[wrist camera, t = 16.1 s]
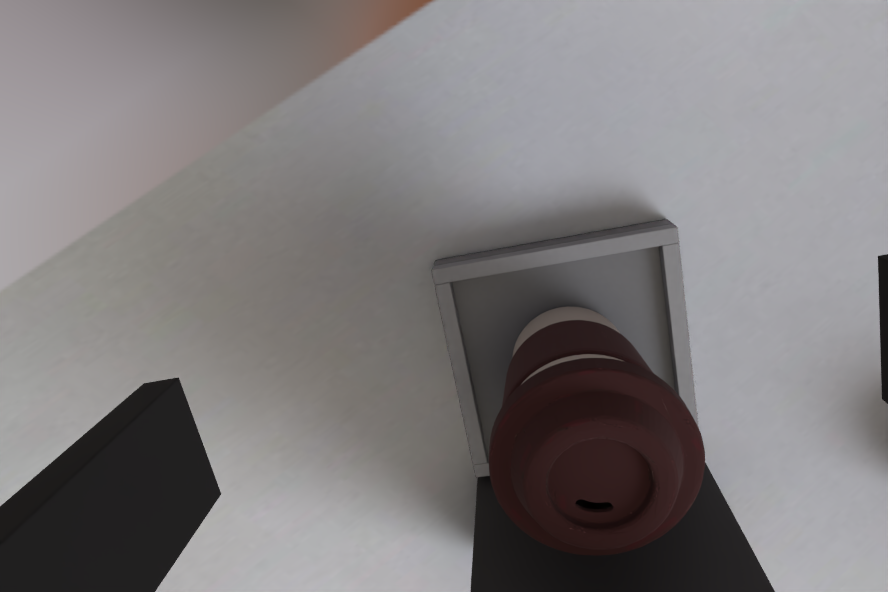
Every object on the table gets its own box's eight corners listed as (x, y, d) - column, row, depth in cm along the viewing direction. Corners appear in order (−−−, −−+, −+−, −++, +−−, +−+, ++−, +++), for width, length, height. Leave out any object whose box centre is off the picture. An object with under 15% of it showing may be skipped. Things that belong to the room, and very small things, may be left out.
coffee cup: (560, 252, 42) (590, 339, 28) (678, 347, 43) (766, 477, 29) (462, 365, 45) (443, 497, 30) (575, 451, 46) (609, 616, 32)
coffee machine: (434, 260, 44) (301, 609, 15) (667, 218, 42) (1050, 528, 13) (497, 556, 51) (491, 1209, 21) (701, 533, 49) (1007, 1219, 19)
